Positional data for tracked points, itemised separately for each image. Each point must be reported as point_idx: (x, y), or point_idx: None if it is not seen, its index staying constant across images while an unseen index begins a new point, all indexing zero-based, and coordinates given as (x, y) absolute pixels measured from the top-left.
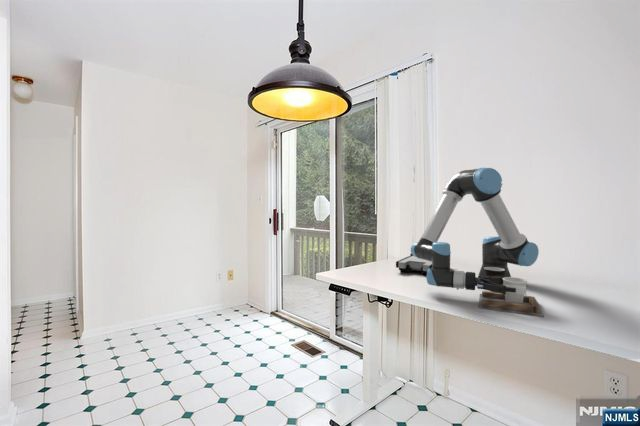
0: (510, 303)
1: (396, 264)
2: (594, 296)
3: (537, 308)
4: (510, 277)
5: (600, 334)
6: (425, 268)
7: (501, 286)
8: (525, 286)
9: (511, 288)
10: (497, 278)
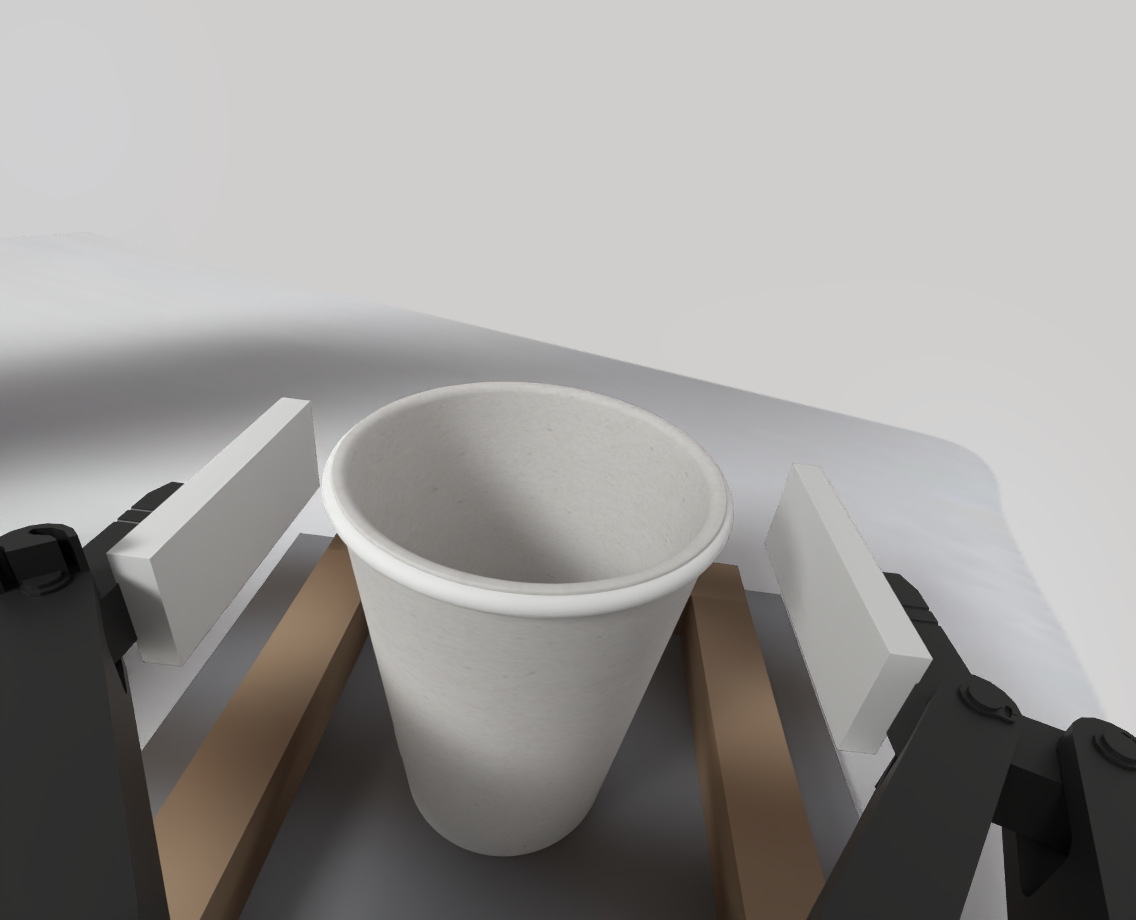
0: (767, 796)
1: None
2: (180, 316)
3: (738, 583)
4: (345, 470)
5: (881, 469)
6: None
7: (1099, 761)
8: (560, 464)
9: (935, 621)
10: (115, 706)
